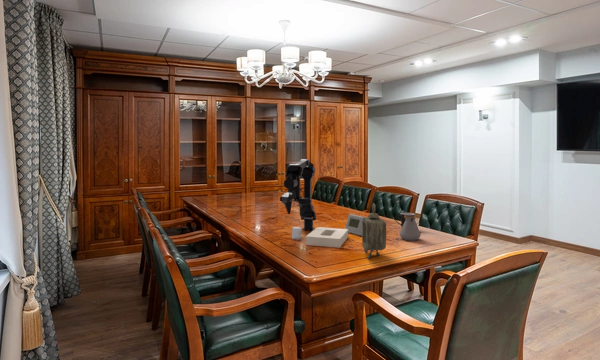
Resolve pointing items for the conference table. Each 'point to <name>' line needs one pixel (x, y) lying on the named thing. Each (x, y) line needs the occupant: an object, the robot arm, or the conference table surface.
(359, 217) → the digital clock
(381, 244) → the shaggy robed figurine
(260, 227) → the conference table surface
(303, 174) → the robot arm
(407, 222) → the coffee pot
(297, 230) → the light grey rectangular block
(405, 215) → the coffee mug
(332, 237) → the slot board
